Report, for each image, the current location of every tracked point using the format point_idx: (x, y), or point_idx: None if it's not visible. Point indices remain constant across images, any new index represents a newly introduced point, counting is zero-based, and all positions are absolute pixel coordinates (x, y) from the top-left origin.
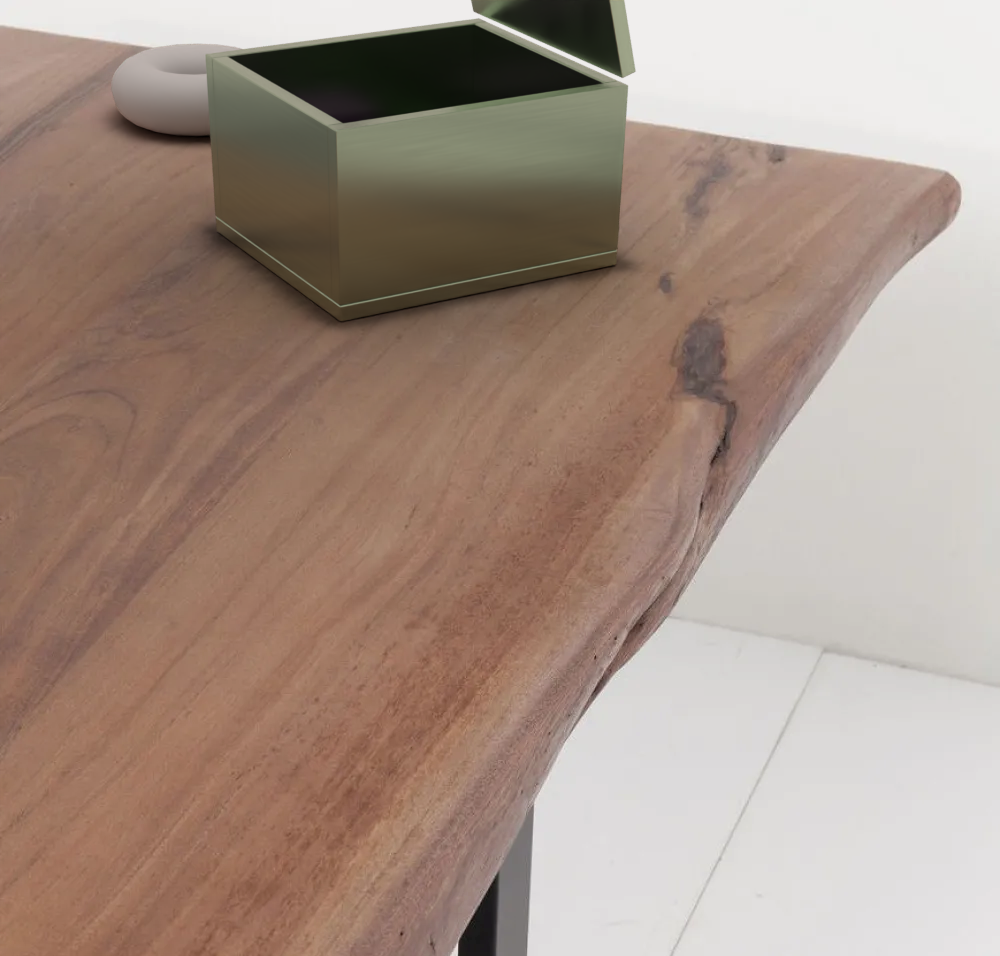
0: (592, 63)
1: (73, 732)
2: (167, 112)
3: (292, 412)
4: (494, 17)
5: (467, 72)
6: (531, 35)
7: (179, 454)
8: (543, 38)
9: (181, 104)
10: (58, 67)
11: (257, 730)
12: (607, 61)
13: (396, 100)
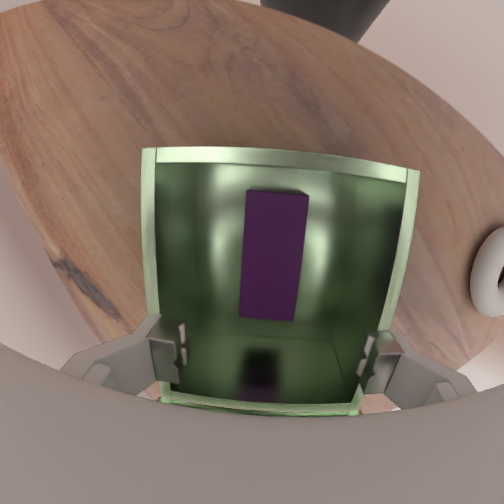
0: (194, 403)
1: (32, 12)
2: (492, 237)
3: (115, 90)
4: (331, 413)
5: (345, 377)
6: (278, 412)
7: (112, 39)
8: (260, 412)
9: (491, 245)
10: None
11: (10, 48)
12: (171, 403)
13: (356, 321)
